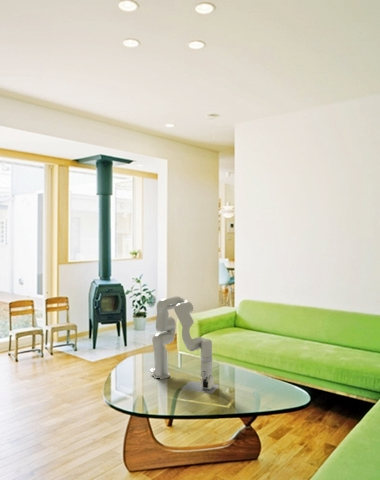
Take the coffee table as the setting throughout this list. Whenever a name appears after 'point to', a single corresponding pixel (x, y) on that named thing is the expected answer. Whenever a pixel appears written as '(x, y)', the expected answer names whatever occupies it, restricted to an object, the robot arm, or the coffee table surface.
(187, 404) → the coffee table surface
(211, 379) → the white knobbed cube
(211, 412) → the coffee table surface
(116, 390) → the coffee table surface
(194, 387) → the board
